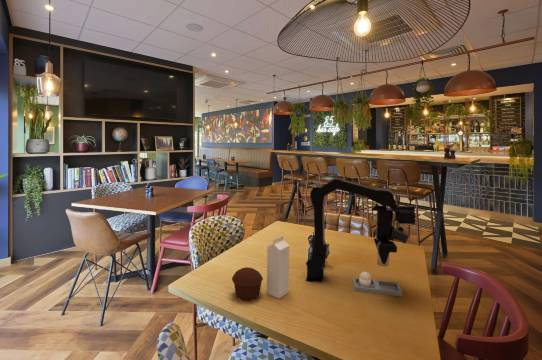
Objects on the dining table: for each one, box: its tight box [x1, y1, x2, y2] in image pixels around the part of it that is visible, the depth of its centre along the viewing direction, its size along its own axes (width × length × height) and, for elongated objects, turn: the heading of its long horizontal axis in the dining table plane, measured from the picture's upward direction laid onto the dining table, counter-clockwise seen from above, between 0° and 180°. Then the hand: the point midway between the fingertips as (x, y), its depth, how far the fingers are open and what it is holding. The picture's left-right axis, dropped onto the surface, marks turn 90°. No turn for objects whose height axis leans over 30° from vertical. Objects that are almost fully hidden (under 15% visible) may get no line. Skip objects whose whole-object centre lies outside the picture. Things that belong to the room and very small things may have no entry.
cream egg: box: [358, 271, 372, 288], centre depth 115 cm, size 4×4×6 cm
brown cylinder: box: [376, 251, 390, 267], centre depth 112 cm, size 4×4×6 cm
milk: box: [266, 235, 290, 299], centre depth 110 cm, size 6×6×22 cm
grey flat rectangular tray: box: [352, 277, 403, 297], centre depth 115 cm, size 17×8×2 cm, turn 78°
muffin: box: [231, 266, 264, 302], centre depth 109 cm, size 12×11×10 cm
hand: (383, 261), depth 112 cm, fingers closed on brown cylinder, 4 cm apart
